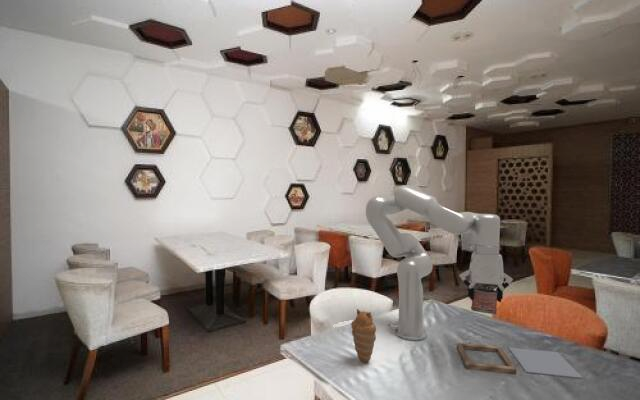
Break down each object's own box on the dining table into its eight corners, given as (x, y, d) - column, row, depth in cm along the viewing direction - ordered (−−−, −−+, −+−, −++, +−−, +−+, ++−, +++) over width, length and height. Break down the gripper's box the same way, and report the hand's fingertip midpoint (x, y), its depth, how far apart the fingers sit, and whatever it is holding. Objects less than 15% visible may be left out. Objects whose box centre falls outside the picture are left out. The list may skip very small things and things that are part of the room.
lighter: (495, 310, 113) (497, 283, 112) (497, 314, 110) (499, 286, 109) (470, 307, 116) (472, 280, 115) (471, 310, 113) (473, 283, 112)
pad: (526, 372, 105) (526, 371, 105) (508, 348, 121) (508, 347, 121) (582, 378, 102) (582, 377, 102) (556, 353, 118) (557, 351, 118)
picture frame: (466, 368, 108) (466, 364, 108) (457, 346, 122) (457, 342, 122) (516, 374, 104) (516, 369, 104) (500, 350, 119) (500, 346, 119)
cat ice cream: (347, 362, 112) (347, 310, 111) (359, 352, 118) (359, 304, 117) (370, 371, 106) (370, 317, 105) (381, 360, 113) (381, 309, 112)
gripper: (461, 250, 110) (460, 301, 111) (518, 253, 106) (516, 305, 107) (457, 246, 117) (455, 294, 118) (510, 249, 113) (508, 298, 114)
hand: (484, 299), depth 113 cm, fingers closed on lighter, 8 cm apart
